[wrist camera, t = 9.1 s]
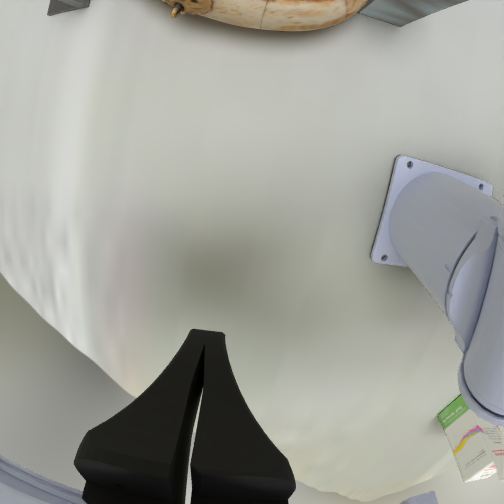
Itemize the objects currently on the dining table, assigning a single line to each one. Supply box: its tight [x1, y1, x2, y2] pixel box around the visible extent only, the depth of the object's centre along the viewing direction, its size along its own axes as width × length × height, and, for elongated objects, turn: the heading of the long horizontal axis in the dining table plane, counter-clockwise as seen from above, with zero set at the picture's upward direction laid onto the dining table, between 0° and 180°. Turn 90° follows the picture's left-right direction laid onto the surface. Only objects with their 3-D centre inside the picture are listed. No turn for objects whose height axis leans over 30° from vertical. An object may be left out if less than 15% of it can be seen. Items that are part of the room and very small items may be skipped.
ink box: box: [438, 395, 504, 482], centre depth 26 cm, size 9×5×15 cm, turn 61°
